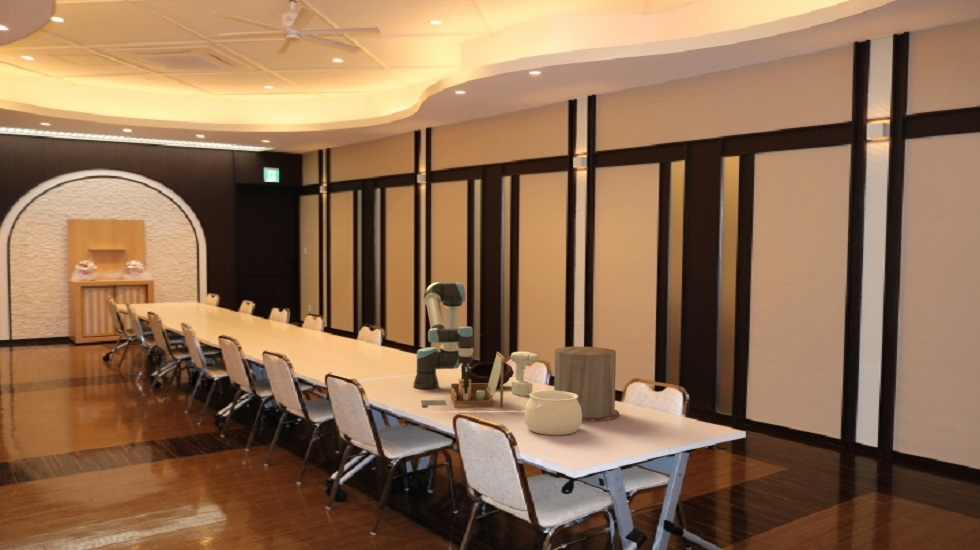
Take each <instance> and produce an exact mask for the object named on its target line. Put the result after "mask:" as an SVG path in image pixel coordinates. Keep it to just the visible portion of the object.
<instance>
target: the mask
mask: <svg viewBox="0 0 980 550" xmlns="http://www.w3.org/2000/svg"><path fill="white" fill-rule="evenodd" d="M494 362H495V361H493V362H477V363H475V364H474V365H472V366H471V367H470V366H469V379H470V380H471V383H487V384H488V383H489V380H490V376H491V372H492V369H493V365H494ZM513 375H514V369H513V368H512V366H511V365H510V364H509V363H508V362H504V368H503V385H505V384H507V383H508V382H509V381H510V379H511V378H512V377H513ZM487 387H488V386H487ZM498 387H499V388H500V387H501V373H500V377H499V380H498V384H497V388H498Z"/></svg>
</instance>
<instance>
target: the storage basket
mask: <svg viewBox="0 0 980 550" xmlns="http://www.w3.org/2000/svg"><path fill="white" fill-rule="evenodd" d="M616 357H617V351H616V350H615V349H610V348H607V347H605V348H604V347H599V346H597V347H595V346H562V347H557V348H555V349H554V380H553V381H554V382H553V383H554V384H553V385H554V386H553V387H554V389H553V391H565V392H570V393H574V394H577V395H578V398H576V399H577V401H578V402H579V404H580V406H581V410H582V421H585V422H589V423H594V422H595V423H598V422H607V421H613V420H617V418H619V416H620V411H618V409H616V408H615V407H616V406H615V405H616V370H617V369H616V359H617V358H616Z"/></svg>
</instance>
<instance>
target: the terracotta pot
mask: <svg viewBox="0 0 980 550" xmlns="http://www.w3.org/2000/svg"><path fill="white" fill-rule="evenodd" d="M458 383H459V401H471V380H470V379H469V387H468V400H463V387H462V386H464V382H463V379H461V378H460V379H458Z"/></svg>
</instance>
